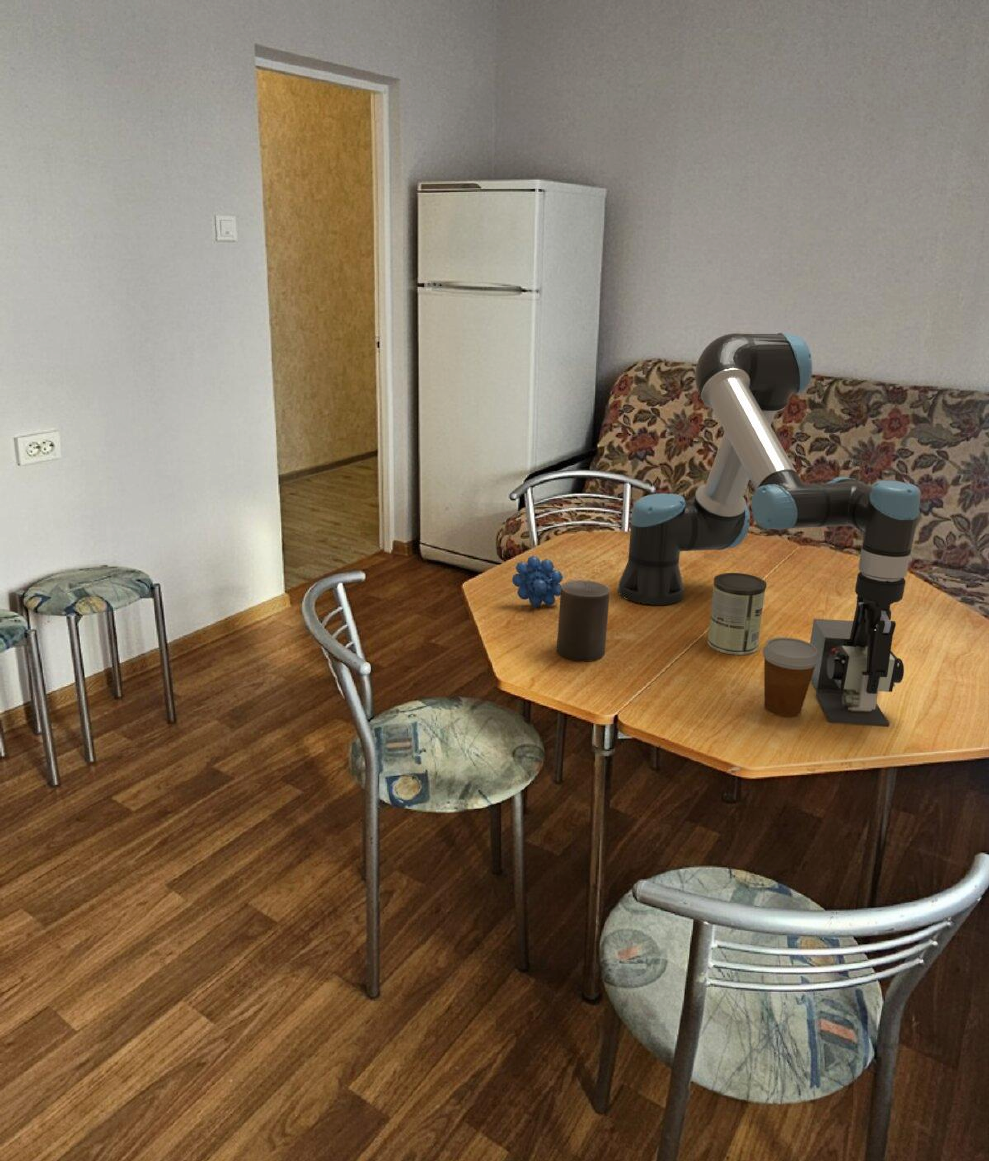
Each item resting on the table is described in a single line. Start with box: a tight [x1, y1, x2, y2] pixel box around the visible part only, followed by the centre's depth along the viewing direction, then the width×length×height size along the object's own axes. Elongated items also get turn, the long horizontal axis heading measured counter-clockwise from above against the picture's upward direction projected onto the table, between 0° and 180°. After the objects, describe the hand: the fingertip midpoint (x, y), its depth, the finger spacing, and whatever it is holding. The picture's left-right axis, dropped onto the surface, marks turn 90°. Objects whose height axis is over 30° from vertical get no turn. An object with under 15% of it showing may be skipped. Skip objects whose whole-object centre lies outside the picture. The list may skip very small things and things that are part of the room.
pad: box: [815, 692, 890, 727], centre depth 161 cm, size 10×10×1 cm
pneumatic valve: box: [827, 646, 905, 713], centre depth 158 cm, size 6×12×12 cm, turn 86°
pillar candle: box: [556, 579, 611, 662], centre depth 179 cm, size 10×10×15 cm
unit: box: [809, 618, 853, 694], centre depth 169 cm, size 9×10×11 cm
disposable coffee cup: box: [762, 637, 820, 718], centre depth 159 cm, size 10×10×12 cm
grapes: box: [511, 555, 564, 607], centre depth 201 cm, size 12×7×12 cm, turn 96°
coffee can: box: [706, 572, 767, 656], centre depth 184 cm, size 10×10×14 cm
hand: (860, 697), depth 159 cm, fingers open, 7 cm apart
